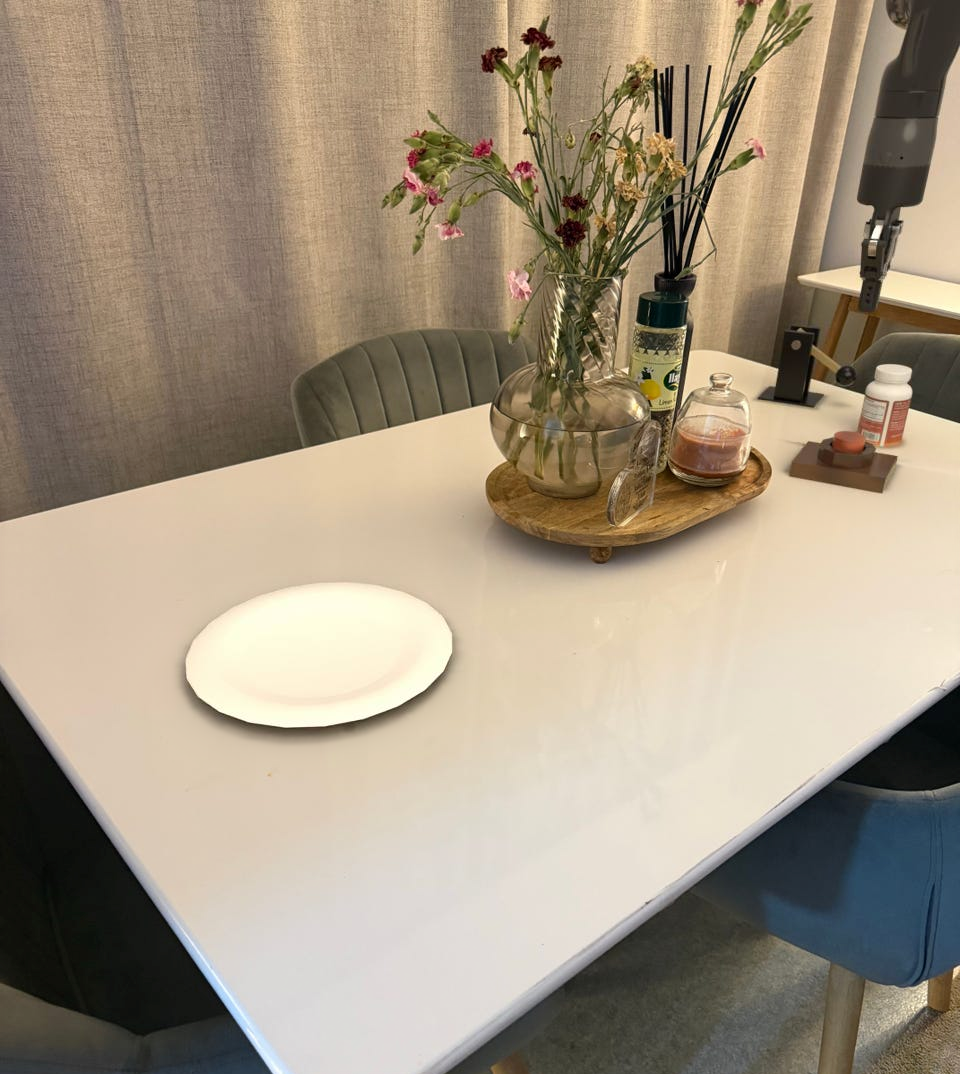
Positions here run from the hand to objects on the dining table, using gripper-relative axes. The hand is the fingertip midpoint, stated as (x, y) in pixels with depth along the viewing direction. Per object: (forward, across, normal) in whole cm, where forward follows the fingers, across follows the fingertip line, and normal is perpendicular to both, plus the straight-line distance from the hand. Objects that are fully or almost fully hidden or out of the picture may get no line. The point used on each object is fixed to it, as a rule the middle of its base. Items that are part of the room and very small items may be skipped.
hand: (866, 310), depth 119 cm
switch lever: (+14, +22, +9) cm, 27 cm away
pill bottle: (+20, +9, -4) cm, 23 cm away
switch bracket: (+20, +22, +12) cm, 32 cm away
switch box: (+20, -5, -2) cm, 21 cm away
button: (+17, -5, -2) cm, 18 cm away
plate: (+20, -76, +32) cm, 85 cm away
